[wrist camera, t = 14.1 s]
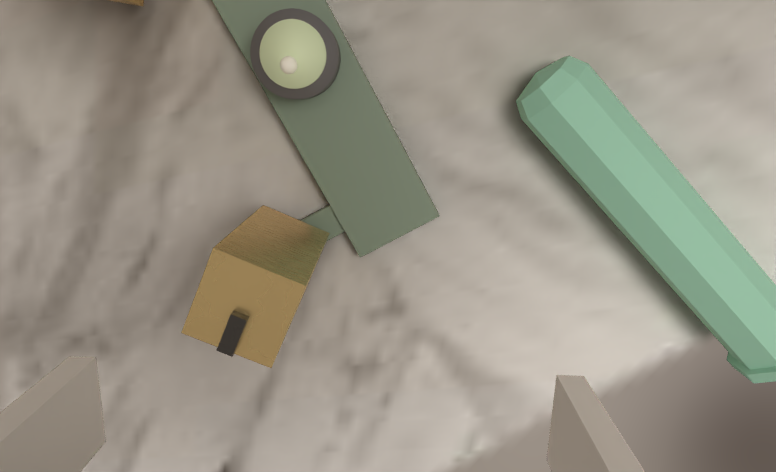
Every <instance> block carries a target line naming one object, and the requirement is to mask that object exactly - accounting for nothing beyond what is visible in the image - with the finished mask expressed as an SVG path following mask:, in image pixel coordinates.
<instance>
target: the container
mask: <svg viewBox="0 0 776 472" xmlns="http://www.w3.org/2000/svg"><path fill="white" fill-rule="evenodd" d="M516 103H517V106H518V110H519V113H520V117H521V119H522V120H523V121H524V123H525V124H526V125H527V126H528V127H529V128H530V129H531V130H532V132H533V133H534V134H535V135H536V136H537V137H538V138H539V139H540V140H541V142H542V143H543V144H544V145H545V146H546V147H547V148H548V149H549V151H550V152H551V153H552V154H553V155H554V156H555V157H556V158H557V160H558V161H559V162H560V163H561V164H562V165H563V166H564V167H565V169H566V170H567V171H568V172H569V173H570V174H571V175H572V176H573V178H574V179H575V180H576V181H577V182H578V183H579V184H580V185H581V187H582V188H583V189H584V190H585V191H586V192H587V193H588V194H589V196H590V197H591V198H592V199H593V200H594V201H595V202H596V203H597V205H598V206H599V207H600V208H601V209H602V210H603V211H604V212H605V214H606V215H607V216H608V217H609V218H610V219H611V220H612V221H613V223H614V224H615V225H616V226H617V227H618V228H619V229H620V230H621V232H622V233H623V234H624V235H625V236H626V237H627V238H628V239H629V241H630V242H631V243H632V244H633V245H634V246H635V247H636V248H637V250H638V251H639V252H640V253H641V254H642V255H643V256H644V257H645V258H646V260H647V261H648V262H649V263H650V264H651V265H652V266H653V267H654V269H655V270H656V271H657V272H658V273H659V274H660V275H661V276H662V278H663V279H664V280H665V281H666V282H667V283H668V284H669V285H670V287H671V288H672V289H673V290H674V291H675V292H676V293H677V294H678V296H679V297H680V298H681V299H682V300H683V301H684V302H685V303H686V305H687V306H688V307H689V308H690V309H691V310H692V311H693V312H694V314H695V315H696V316H697V317H698V318H699V319H700V320H701V321H702V323H703V324H704V325H705V326H706V327H707V328H708V329H709V330H710V332H711V333H712V334H713V335H714V336H715V337H716V338H717V339H718V341H719V342H720V343H721V344H722V345H723V346H724V347H725V348H726V349H727V351H728V356H727V361H728V362H729V363H730V364H731V365H732V366H733V367H734V368H735V369H737V371H739V372H740V373H741V374H743V375H744V376H745V377H746V378H748V379H749V380H750V381H752V382H753V383H762V382H773V381H776V285H775V284H774V283H773V282H772V280H771V279H770V278H769V277H768V276H767V274H766V273H765V272H764V271H763V270H762V269H761V267H760V266H759V265H758V264H757V263H756V261H755V260H754V259H753V258H752V257H751V256H750V254H749V253H748V252H747V251H746V250H745V248H744V247H743V246H742V245H741V244H740V243H739V241H738V240H737V239H736V238H735V237H734V235H733V234H732V233H731V232H730V231H729V230H728V228H727V227H726V226H725V225H724V224H723V222H722V221H721V220H720V219H719V218H718V217H717V215H716V214H715V213H714V212H713V211H712V209H711V208H710V207H709V206H708V205H707V204H706V202H705V201H704V200H703V199H702V198H701V196H700V195H699V194H698V193H697V192H696V191H695V189H694V188H693V187H692V186H691V185H690V184H689V182H688V181H687V180H686V179H685V178H684V176H683V175H682V174H681V173H680V172H679V171H678V169H677V168H676V167H675V166H674V165H673V163H672V162H671V161H670V160H669V159H668V158H667V156H666V155H665V154H664V153H663V152H662V150H661V149H660V148H659V147H658V146H657V145H656V143H655V142H654V141H653V140H652V139H651V137H650V136H649V135H648V134H647V133H646V132H645V130H644V129H643V128H642V127H641V126H640V124H639V123H638V122H637V121H636V120H635V119H634V117H633V116H632V115H631V114H630V113H629V111H628V110H627V109H626V108H625V107H624V106H623V104H622V103H621V102H620V101H619V100H618V98H617V97H616V96H615V95H614V94H613V93H612V91H611V90H610V89H609V88H608V87H607V85H606V84H605V83H604V82H603V81H602V80H601V78H600V77H599V76H598V75H597V74H596V72H595V71H594V70H593V69H592V68H591V67H590V65H589V64H587V63H585V62H583V61H580V60H578V59H576V58H573V57H571V56H567V57H563V58H561V59H559V60H557V61H555V62H554V63H552V64H550V65H549V66H547V67H545V68H543V69H542V70H540V71H538V72H536V74H535V75H534V76H533V78H532V79H531V81H530V82H529V83H528V85H527V86H526V88H525V89H524V90H523V92H522V93H521V95H520V96H519V97H518V99H517V100H516Z"/></svg>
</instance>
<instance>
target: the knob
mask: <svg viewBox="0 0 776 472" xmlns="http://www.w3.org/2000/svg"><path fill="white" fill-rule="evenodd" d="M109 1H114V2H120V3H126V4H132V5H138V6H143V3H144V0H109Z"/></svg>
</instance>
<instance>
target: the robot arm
mask: <svg viewBox="0 0 776 472" xmlns="http://www.w3.org/2000/svg"><path fill="white" fill-rule="evenodd" d="M105 442H106V438H105V430H104V421H103V412H102V403H101V395H100V386H99V377H98V369H97V360H96V357H71V356H70V357H68V358H67V359H66V360H65V361H63V362H62V363H61V364H60V365H58V366H57V367H56V368H55V369H54V370H52V371H51V372H50V373H49V374H47V375H46V376H45V377H44V378H42V379H41V380H40V381H39V382H38V383H36V384H35V385H34V386H33V387H31V388H30V389H29V390H28V391H26V392H25V393H24V394H23V395H21V396H20V397H19V398H18V399H17V400H15V401H14V402H13V403H12V404H10V405H9V406H8V407H7V408H5V409H4V410H3V411H2V412H0V472H81V471H82V469H83V468H84V467H85V466H86V465H87V463H88V462H89V461H90V460H91V459H92V457H93V456H94V455H95V454H96V453H97V451H98V450H99V449H100V448H101V447H102V445H103V444H104V443H105ZM547 462H548V464H549V467H550V469H551V472H645V471H644V470H643V468H642V467H641V465H640V463H639V462H638V460H637V459H636V457H635V455H634V454H633V453H632V451H631V449H630V448H629V446H628V445H627V443H626V441H625V440H624V438H623V437H622V435H621V434H620V432H619V430H618V429H617V427H616V426H615V424H614V423H613V421H612V420H611V418H610V416H609V415H608V413H607V412H606V410H605V409H604V407H603V405H602V404H601V402H600V401H599V399H598V398H597V396H596V394H595V393H594V391H593V390H592V388H591V387H590V385H589V383H588V382H587V380H586V379H585V377H584V376H565V375H557V377H556V385H555V393H554V401H553V410H552V418H551V426H550V435H549V443H548V451H547Z"/></svg>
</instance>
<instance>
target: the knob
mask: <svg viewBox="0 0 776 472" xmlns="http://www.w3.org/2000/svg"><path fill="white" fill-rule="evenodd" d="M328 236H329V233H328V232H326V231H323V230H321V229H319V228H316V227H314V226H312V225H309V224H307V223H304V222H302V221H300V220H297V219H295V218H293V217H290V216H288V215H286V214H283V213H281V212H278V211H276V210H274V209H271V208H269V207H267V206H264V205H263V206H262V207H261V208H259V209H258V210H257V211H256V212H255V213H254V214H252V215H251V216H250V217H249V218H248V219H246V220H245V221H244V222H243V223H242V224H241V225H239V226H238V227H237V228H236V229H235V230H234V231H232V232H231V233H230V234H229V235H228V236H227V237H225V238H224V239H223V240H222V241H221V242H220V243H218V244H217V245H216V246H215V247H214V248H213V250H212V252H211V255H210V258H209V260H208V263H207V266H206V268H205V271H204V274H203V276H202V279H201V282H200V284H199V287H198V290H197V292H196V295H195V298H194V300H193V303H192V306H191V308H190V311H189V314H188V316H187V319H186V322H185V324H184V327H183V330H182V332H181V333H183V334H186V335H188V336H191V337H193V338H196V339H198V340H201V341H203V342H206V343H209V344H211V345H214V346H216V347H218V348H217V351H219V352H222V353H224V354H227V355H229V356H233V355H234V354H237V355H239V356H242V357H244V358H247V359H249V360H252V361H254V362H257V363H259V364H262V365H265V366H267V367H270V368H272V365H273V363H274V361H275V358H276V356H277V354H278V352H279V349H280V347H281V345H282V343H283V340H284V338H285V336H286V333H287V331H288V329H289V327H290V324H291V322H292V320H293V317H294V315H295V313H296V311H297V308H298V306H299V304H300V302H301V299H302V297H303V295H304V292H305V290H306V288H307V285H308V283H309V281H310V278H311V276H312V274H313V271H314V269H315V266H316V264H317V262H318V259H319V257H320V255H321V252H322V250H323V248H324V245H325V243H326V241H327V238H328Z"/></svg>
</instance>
